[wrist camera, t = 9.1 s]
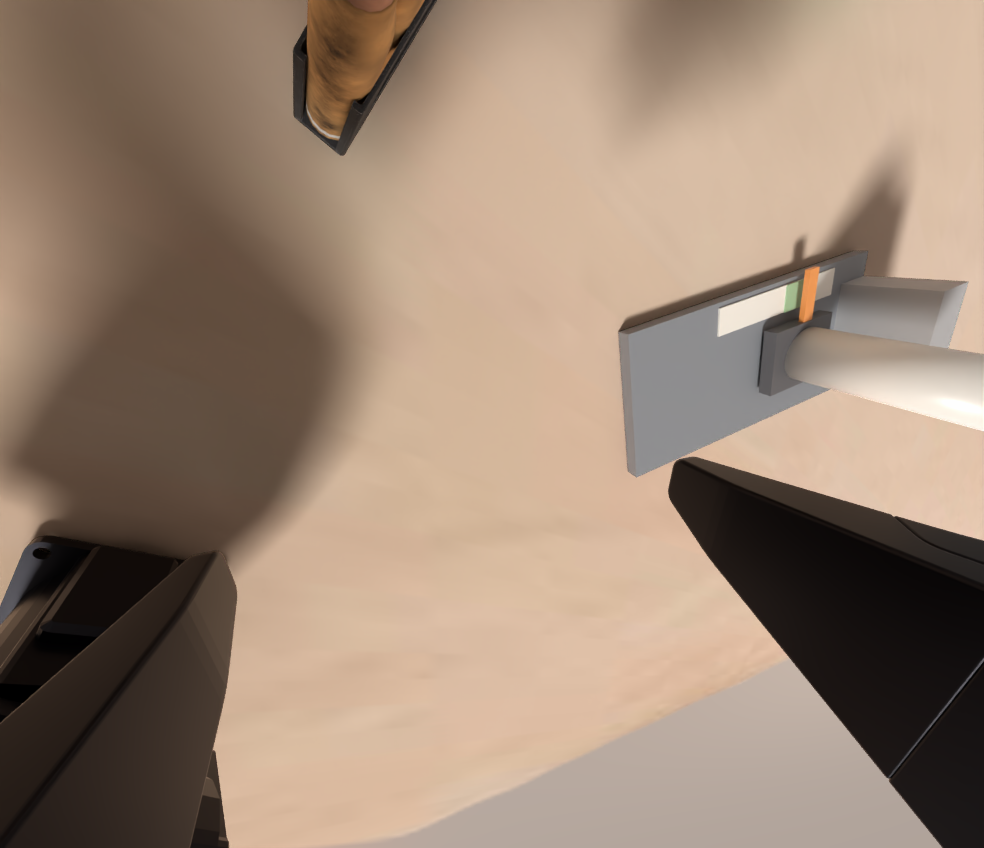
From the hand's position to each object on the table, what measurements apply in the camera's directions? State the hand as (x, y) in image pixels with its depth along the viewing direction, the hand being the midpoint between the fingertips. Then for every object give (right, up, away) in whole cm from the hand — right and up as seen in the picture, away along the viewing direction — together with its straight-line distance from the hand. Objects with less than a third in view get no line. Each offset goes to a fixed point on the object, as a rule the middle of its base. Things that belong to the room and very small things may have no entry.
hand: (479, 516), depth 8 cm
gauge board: (+16, +6, +18) cm, 25 cm away
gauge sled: (+18, +8, +17) cm, 26 cm away
